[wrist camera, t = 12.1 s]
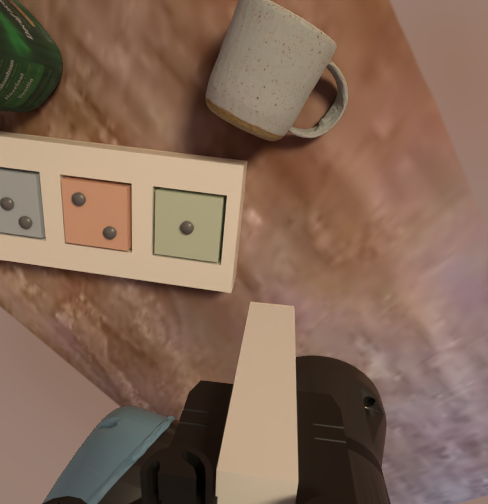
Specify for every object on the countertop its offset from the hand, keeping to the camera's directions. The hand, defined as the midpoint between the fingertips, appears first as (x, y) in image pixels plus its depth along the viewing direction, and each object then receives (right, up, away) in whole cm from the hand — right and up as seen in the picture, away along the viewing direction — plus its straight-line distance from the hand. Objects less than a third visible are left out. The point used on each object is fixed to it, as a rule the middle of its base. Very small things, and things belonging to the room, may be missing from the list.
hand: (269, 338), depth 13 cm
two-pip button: (-14, +7, +24) cm, 29 cm away
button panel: (-14, +8, +24) cm, 29 cm away
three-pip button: (-22, +9, +25) cm, 35 cm away
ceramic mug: (+2, +17, +19) cm, 26 cm away
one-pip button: (-6, +6, +24) cm, 25 cm away
